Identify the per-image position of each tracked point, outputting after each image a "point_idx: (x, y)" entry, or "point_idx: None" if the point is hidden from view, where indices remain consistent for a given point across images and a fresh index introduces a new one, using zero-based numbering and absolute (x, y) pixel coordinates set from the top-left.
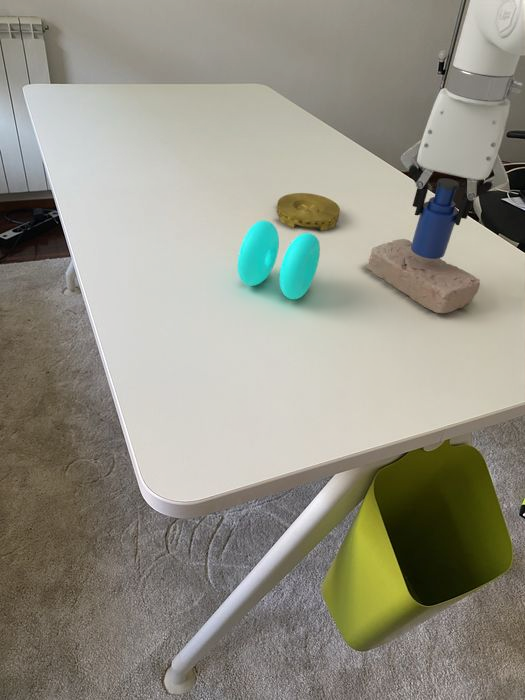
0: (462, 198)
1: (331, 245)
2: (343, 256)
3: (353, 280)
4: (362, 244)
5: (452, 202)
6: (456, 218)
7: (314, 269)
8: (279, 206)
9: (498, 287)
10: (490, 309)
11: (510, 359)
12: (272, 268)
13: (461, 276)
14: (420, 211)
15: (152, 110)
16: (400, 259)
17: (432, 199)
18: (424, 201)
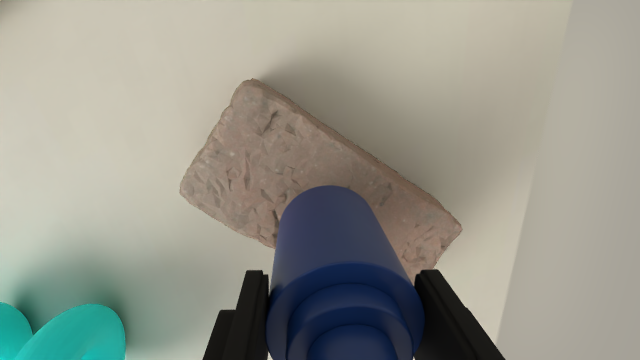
0: (454, 348)
1: (66, 93)
2: (122, 137)
3: (188, 230)
4: (138, 39)
5: (399, 337)
6: (415, 356)
7: (99, 337)
8: None
9: (504, 97)
10: (473, 200)
11: (487, 324)
12: (19, 331)
13: (419, 234)
14: (267, 355)
15: None
16: (264, 218)
17: (300, 358)
18: (264, 299)
